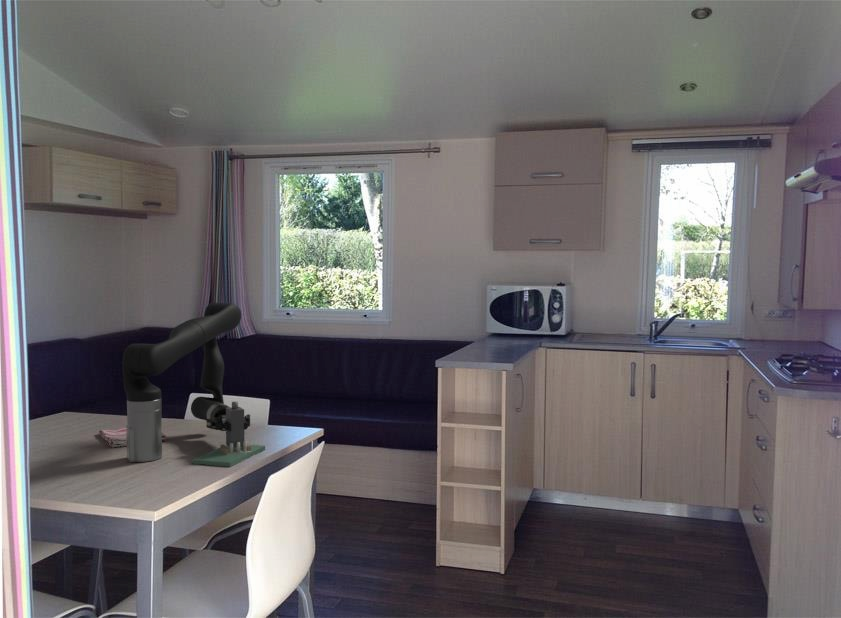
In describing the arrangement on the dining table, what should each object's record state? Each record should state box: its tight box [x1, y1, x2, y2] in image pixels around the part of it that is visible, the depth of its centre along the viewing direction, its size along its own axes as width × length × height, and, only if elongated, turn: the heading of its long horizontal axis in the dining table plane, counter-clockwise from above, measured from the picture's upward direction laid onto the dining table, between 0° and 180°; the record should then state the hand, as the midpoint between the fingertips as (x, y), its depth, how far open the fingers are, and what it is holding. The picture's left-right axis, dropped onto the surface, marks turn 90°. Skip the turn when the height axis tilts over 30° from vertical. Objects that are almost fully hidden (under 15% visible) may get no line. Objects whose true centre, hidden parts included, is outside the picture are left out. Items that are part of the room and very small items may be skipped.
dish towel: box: [98, 427, 167, 448], centre depth 227 cm, size 17×23×4 cm
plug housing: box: [225, 401, 245, 448], centre depth 206 cm, size 4×5×13 cm
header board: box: [191, 441, 266, 468], centre depth 203 cm, size 20×12×4 cm, turn 165°
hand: (238, 426), depth 203 cm, fingers closed on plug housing, 4 cm apart
